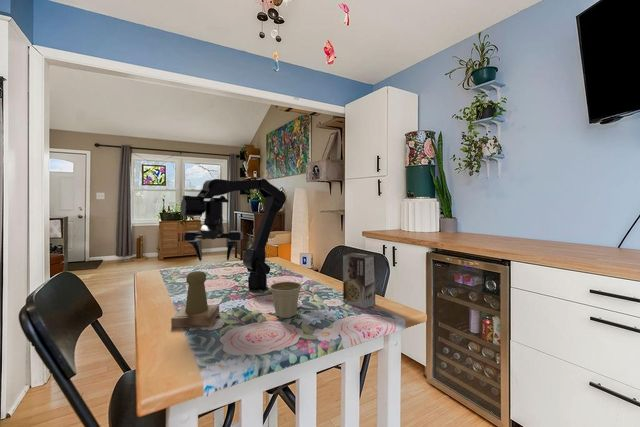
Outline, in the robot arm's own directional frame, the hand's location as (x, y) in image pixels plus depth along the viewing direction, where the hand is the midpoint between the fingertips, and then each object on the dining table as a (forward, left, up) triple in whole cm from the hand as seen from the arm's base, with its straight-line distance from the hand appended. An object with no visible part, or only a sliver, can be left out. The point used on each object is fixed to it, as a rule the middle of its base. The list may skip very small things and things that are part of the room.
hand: (214, 260), depth 105 cm
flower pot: (-25, +18, -13) cm, 33 cm away
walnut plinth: (0, +20, -13) cm, 24 cm away
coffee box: (-49, +10, -13) cm, 52 cm away
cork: (0, +20, -10) cm, 22 cm away
